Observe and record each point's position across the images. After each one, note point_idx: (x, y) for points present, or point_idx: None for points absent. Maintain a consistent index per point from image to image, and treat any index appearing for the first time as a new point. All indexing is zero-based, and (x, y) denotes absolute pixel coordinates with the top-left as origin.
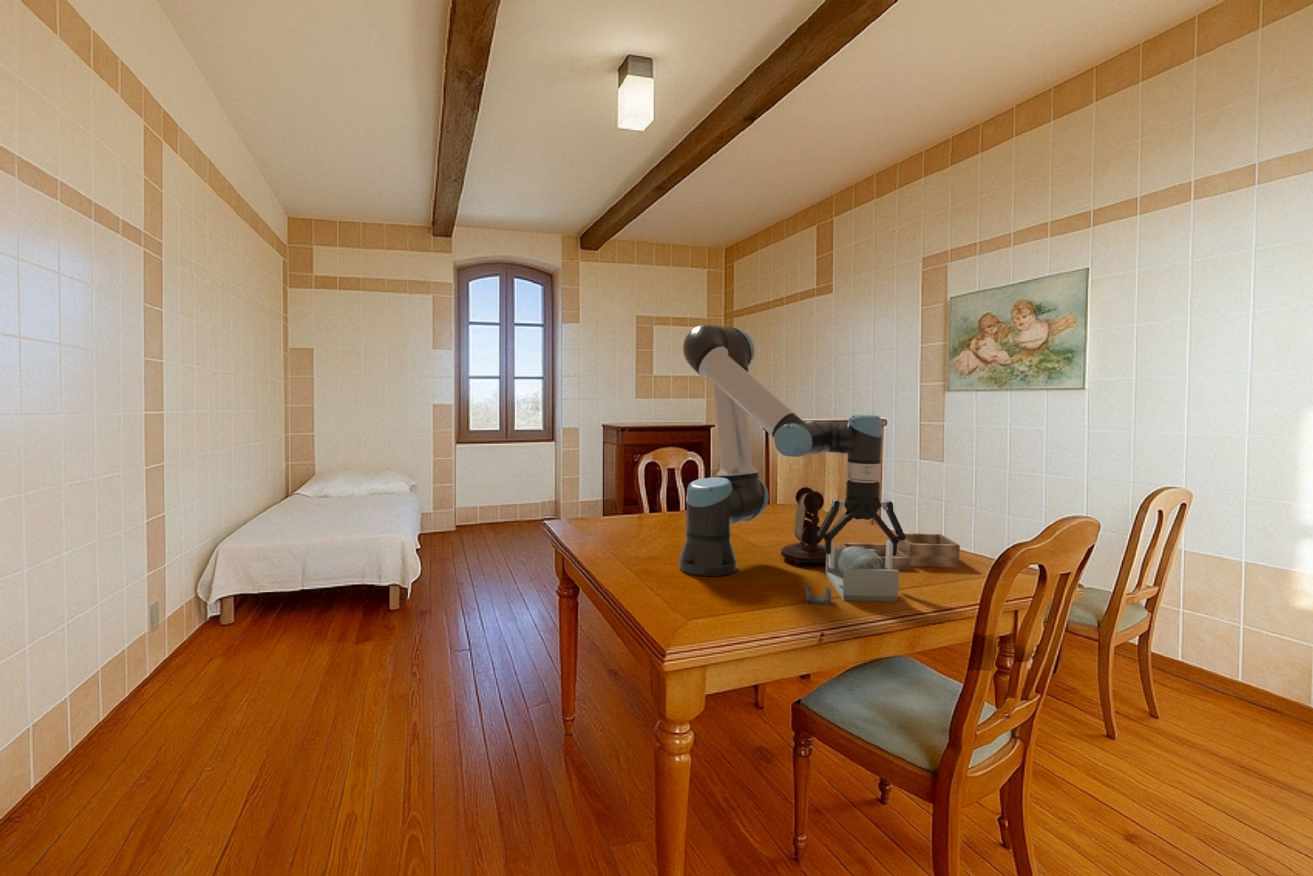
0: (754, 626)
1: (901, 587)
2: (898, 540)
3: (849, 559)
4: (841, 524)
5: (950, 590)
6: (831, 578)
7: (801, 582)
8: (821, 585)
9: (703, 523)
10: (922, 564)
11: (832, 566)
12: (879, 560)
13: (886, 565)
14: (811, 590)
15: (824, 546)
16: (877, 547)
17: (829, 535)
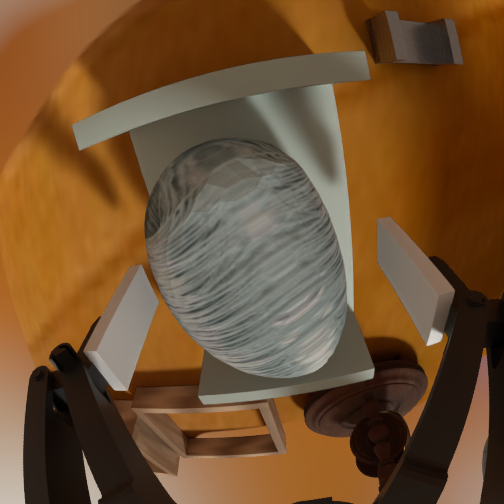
0: None
1: (128, 264)
2: (50, 355)
3: (322, 245)
4: (454, 410)
5: (31, 272)
6: (351, 254)
7: (431, 228)
8: (381, 214)
9: None
10: (118, 403)
11: (386, 222)
12: (156, 220)
13: (150, 295)
14: (446, 20)
15: (328, 431)
16: (209, 450)
17: (485, 315)
